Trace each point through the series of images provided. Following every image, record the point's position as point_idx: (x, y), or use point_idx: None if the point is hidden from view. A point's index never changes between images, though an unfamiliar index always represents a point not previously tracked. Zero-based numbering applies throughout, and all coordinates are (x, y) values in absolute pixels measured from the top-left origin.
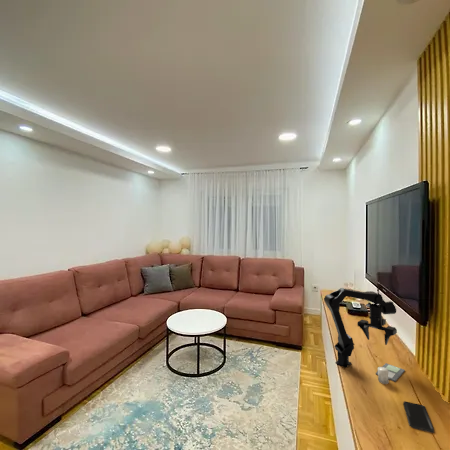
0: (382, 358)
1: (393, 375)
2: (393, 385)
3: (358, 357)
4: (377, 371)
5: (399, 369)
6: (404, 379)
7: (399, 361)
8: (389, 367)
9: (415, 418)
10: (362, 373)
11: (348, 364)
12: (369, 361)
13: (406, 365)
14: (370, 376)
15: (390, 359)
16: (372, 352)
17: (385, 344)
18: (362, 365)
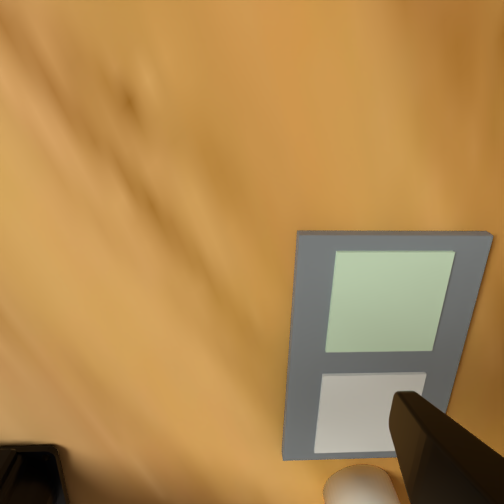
0: (216, 108)
1: None
2: None
3: (11, 293)
4: (286, 431)
5: (448, 278)
6: (488, 374)
7: (412, 26)
8: (356, 306)
9: None
10: (201, 499)
11: (55, 493)
12: (142, 293)
13: (497, 82)
14: (263, 495)
15: (304, 56)
16: (32, 11)
17: (397, 439)
18: (137, 405)
